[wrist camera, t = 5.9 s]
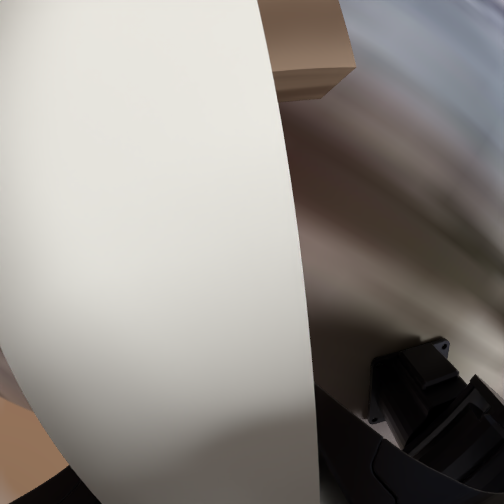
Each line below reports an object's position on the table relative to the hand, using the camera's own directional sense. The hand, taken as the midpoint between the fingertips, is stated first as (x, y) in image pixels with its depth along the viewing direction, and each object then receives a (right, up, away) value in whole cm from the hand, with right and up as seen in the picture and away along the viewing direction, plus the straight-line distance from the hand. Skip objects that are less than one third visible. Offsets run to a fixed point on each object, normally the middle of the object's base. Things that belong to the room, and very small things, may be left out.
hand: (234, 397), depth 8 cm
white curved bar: (0, +2, +1) cm, 2 cm away
